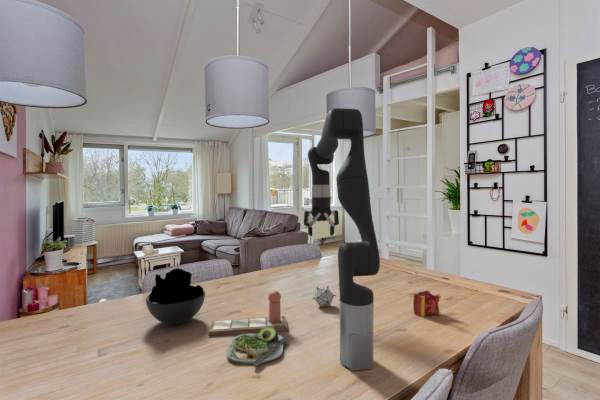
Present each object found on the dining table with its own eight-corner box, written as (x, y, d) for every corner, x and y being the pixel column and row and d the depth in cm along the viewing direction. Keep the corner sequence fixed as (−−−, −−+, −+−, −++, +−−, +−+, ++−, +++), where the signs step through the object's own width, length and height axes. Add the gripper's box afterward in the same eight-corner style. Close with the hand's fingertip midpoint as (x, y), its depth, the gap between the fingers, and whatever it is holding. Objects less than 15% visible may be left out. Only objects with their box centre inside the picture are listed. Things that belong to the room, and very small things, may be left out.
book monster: (429, 308, 131) (450, 322, 119) (409, 311, 129) (428, 325, 117) (430, 282, 130) (451, 293, 118) (409, 284, 128) (428, 296, 116)
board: (287, 330, 111) (287, 325, 111) (208, 336, 108) (208, 331, 108) (285, 320, 120) (285, 315, 120) (212, 324, 117) (212, 320, 117)
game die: (327, 317, 133) (333, 302, 127) (308, 308, 134) (313, 293, 128) (333, 300, 140) (339, 285, 134) (315, 292, 141) (320, 277, 135)
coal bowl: (203, 308, 132) (202, 262, 132) (208, 328, 114) (207, 274, 113) (148, 316, 125) (147, 267, 124) (144, 338, 107) (142, 281, 106)
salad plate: (285, 371, 87) (285, 354, 87) (218, 371, 88) (218, 354, 87) (288, 338, 107) (288, 324, 107) (234, 338, 107) (233, 324, 107)
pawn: (281, 323, 113) (281, 292, 113) (268, 324, 113) (268, 293, 112) (280, 318, 118) (280, 288, 117) (268, 319, 117) (267, 289, 117)
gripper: (305, 196, 129) (305, 237, 129) (340, 196, 131) (340, 236, 132) (302, 196, 136) (302, 235, 137) (335, 195, 139) (335, 234, 139)
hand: (321, 235), depth 134 cm, fingers open, 8 cm apart
